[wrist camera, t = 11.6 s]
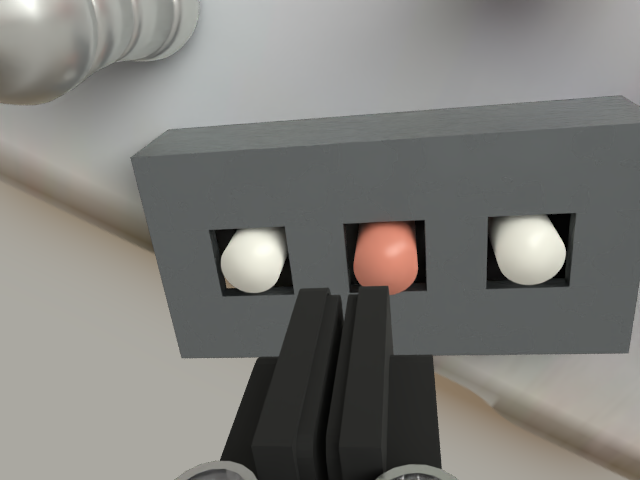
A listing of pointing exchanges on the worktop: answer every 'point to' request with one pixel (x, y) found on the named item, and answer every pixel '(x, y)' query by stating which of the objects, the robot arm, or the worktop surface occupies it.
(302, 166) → the panel
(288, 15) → the worktop surface
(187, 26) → the plastic bottle
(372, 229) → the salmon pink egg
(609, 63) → the worktop surface
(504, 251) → the cream plug
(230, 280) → the cream plug
